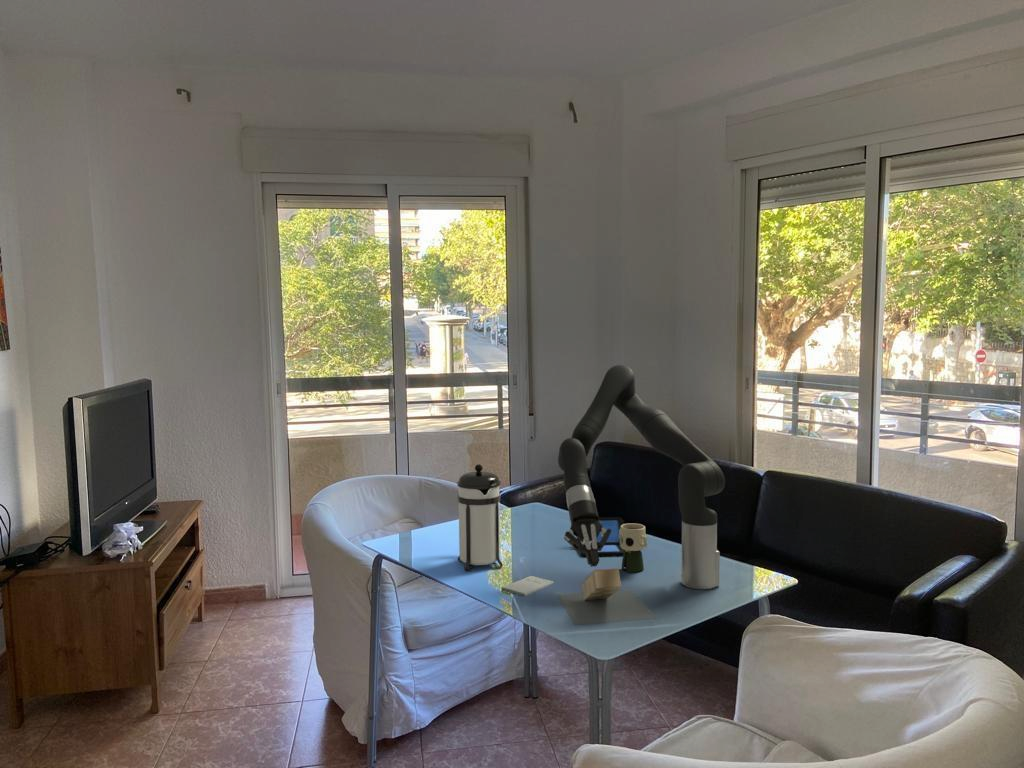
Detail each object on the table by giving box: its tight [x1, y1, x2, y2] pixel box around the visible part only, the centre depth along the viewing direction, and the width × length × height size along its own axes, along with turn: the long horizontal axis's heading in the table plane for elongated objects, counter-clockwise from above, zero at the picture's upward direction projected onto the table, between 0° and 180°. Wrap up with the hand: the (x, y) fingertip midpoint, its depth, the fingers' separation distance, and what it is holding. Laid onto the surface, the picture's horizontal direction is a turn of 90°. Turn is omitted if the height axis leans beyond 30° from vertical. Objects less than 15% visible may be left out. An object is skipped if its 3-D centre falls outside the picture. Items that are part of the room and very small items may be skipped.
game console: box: [576, 516, 625, 558], centre depth 233 cm, size 16×14×9 cm
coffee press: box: [456, 463, 504, 572], centre depth 219 cm, size 17×16×30 cm
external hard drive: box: [501, 575, 555, 597], centre depth 199 cm, size 2×8×12 cm
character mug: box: [619, 523, 648, 573], centre depth 212 cm, size 11×7×13 cm, turn 35°
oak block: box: [581, 568, 622, 600], centre depth 184 cm, size 6×4×14 cm
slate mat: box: [556, 589, 658, 625], centre depth 184 cm, size 20×20×1 cm
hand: (594, 565), depth 189 cm, fingers closed
